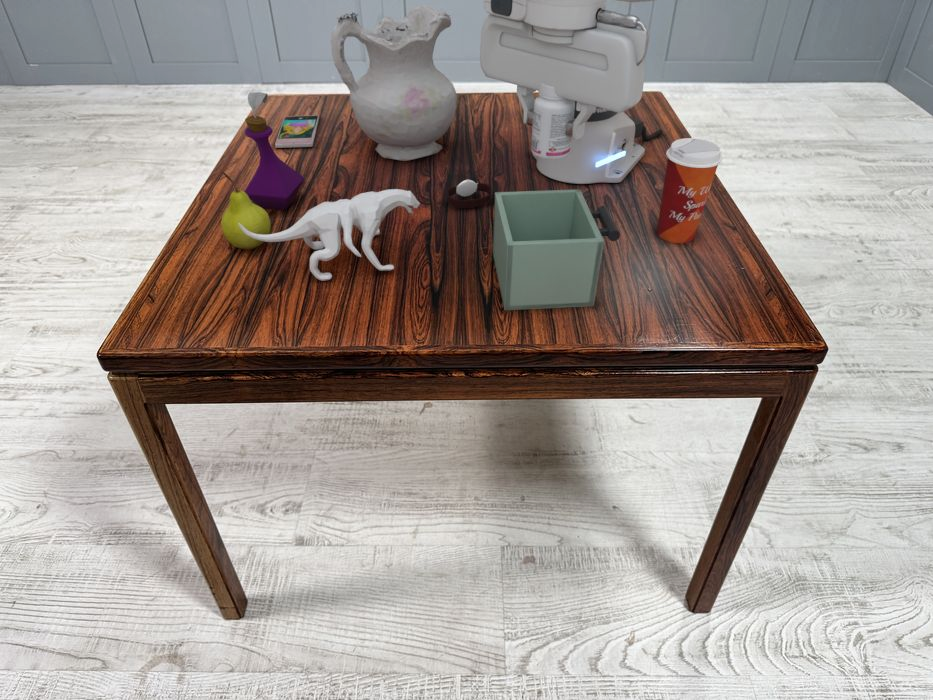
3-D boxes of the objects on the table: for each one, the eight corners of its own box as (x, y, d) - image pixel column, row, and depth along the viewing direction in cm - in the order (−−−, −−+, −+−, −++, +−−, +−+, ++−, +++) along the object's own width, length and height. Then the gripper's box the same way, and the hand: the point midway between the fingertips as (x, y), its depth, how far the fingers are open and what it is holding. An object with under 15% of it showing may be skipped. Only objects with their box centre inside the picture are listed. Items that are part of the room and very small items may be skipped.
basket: (492, 254, 97) (593, 249, 98) (504, 310, 86) (617, 305, 87) (494, 192, 90) (602, 188, 91) (507, 244, 80) (629, 240, 81)
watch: (486, 193, 112) (487, 173, 109) (495, 205, 108) (496, 185, 106) (443, 199, 110) (443, 179, 108) (451, 212, 107) (450, 192, 104)
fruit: (282, 237, 100) (267, 163, 93) (261, 261, 95) (243, 185, 88) (242, 232, 102) (223, 158, 94) (219, 254, 97) (197, 179, 89)
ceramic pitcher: (379, 187, 116) (373, 39, 99) (323, 144, 126) (309, 4, 109) (473, 156, 126) (483, 17, 109) (415, 118, 137) (415, -13, 120)
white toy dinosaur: (432, 268, 94) (429, 205, 87) (253, 297, 88) (236, 233, 82) (412, 227, 103) (409, 168, 96) (249, 252, 97) (233, 190, 91)
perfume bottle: (290, 216, 105) (268, 104, 94) (247, 211, 107) (220, 100, 95) (308, 195, 111) (289, 87, 99) (267, 191, 112) (244, 83, 101)
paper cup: (672, 251, 97) (694, 162, 88) (639, 228, 103) (656, 142, 94) (712, 239, 100) (736, 151, 91) (678, 217, 105) (698, 132, 96)
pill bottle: (574, 148, 81) (583, 78, 75) (562, 163, 77) (570, 90, 72) (538, 141, 82) (544, 72, 77) (525, 156, 79) (529, 84, 74)
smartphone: (319, 115, 137) (312, 143, 125) (319, 118, 137) (313, 147, 126) (284, 116, 136) (274, 144, 125) (285, 119, 137) (275, 148, 125)
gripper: (667, 12, 66) (642, 145, 75) (507, -16, 76) (502, 103, 85) (636, 25, 62) (614, 162, 71) (472, -7, 72) (471, 117, 81)
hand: (552, 130), depth 78 cm, fingers closed on pill bottle, 5 cm apart
